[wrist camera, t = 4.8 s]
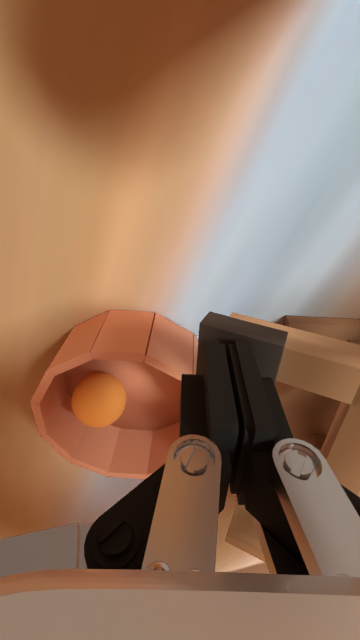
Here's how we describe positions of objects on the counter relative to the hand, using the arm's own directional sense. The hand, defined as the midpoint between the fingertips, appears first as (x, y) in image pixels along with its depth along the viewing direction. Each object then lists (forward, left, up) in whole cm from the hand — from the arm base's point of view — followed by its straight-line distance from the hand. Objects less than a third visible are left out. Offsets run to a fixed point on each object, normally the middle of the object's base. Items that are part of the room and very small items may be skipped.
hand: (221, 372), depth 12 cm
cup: (+5, +10, -11) cm, 15 cm away
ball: (+8, +10, -8) cm, 15 cm away
